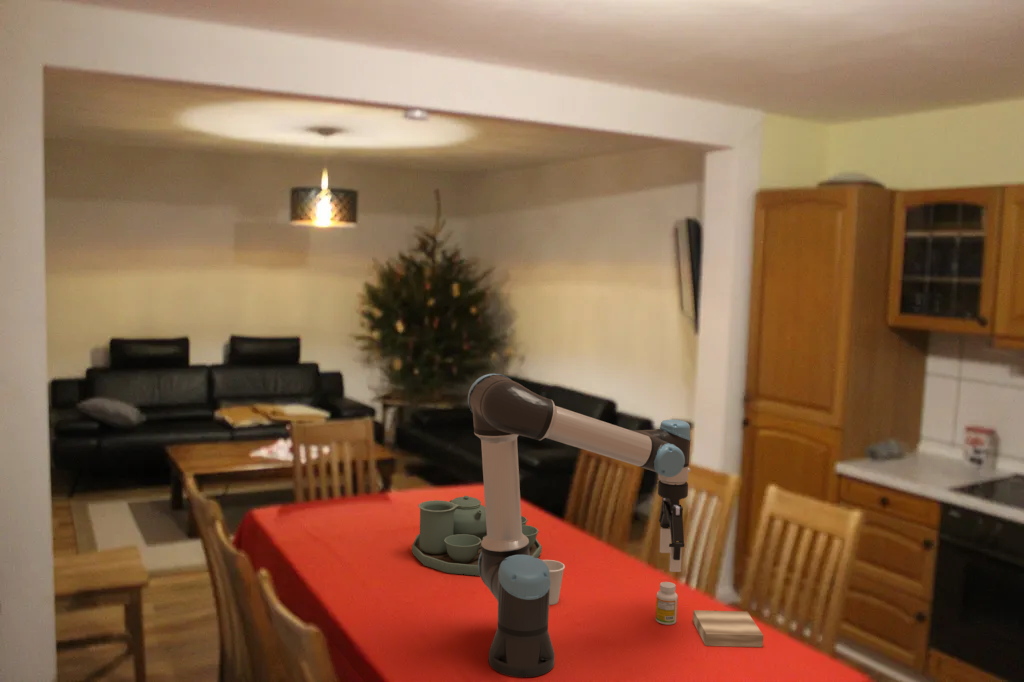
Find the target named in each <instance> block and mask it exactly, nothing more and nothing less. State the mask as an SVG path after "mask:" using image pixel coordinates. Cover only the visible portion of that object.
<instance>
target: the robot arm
mask: <svg viewBox="0 0 1024 682" xmlns="http://www.w3.org/2000/svg"><path fill="white" fill-rule="evenodd" d="M467 403H468V408H469V409H470V410H469V411H471V413H472V419H473V433H474V435H475V436H476V437H477V438H479V439H480V442H481V443H480V444H481V445H480V446H481V460H482V461H481V462H482V463H481V464H482V476H483V493H484V507H485V513H486V530H487V536H486V537H485V538H484V539H483V540H482V541H481V553H480V556H479V559H478V569H479V573H480V576H479V577H480V578H481V581H482V582H483V584H484V585H485V586H486V587H487V589H488V590H489V591H490V593H491V594H492V595H493V596H494V598H495V599H496V601H497V627H496V631H495V634H494V637H493V639H492V642H491V644H490V647H489V650H488V664H489V666H490V667H491V668H492V669H493V670H494V671H496V672H498V673H499V674H502V675H504V676H510V677H516V678H534V677H539V676H542V675H544V674H547V673H549V672H551V670H552V669H553V668H554V666H555V657H556V656H555V655H556V654H555V650H554V646H553V643H552V640H551V637H550V632H549V617H550V615H549V612H550V605H549V595H550V584H551V580H550V571H549V568H548V566H547V565H546V563H545V562H543V561H542V560H543V559H541V558H539V557H538V558H534V557H533V556H530V553H529V539H528V538H527V537H526V536H525V535H524V534H523V533H522V521H521V516H522V509H521V506H522V505H521V490H520V487H521V485H520V471H519V468H520V466H519V452H518V448H519V447H518V437H519V436H522V437H525V438H529V439H533V440H536V441H542V440H544V439H545V438H546V439H547V440H548V439H549V440H551V441H555V442H559V443H562V444H564V445H568V446H571V447H574V448H577V449H581V450H584V451H588V452H591V453H594V454H597V455H600V456H604V457H607V458H610V459H613V460H617V461H620V462H624V463H627V464H630V465H633V466H636V467H639V468H643V469H645V470H649V471H652V472H655V473H656V474H658V482H657V484H658V485H657V494H658V496H660V497H661V499H662V500H661V506H660V511H659V517H658V518H659V520H658V522H659V526H660V531H659V532H660V535H659V553H661V554H669V572H670V573H672V572H673V573H674V572H675V573H681V572H682V557H683V555H682V553H683V552H682V550H683V548H684V547H685V538H684V537H685V536H684V535H685V533H684V521H683V520H684V518H683V514H684V513H683V510H684V508H683V506H682V504H680V501H681V500H683V499H686V498H688V495H689V483H688V481H689V473H691V471H692V468H690V467H689V466H690V450H691V448H690V447H691V441H692V440H691V425H690V424H689V423H688V421H685V420H680V419H666V420H662V421H660V426H659V428H658V429H643V430H642V429H639V430H638V429H637V430H636V429H635V430H631V429H627V428H624V427H622V426H618V425H616V424H612V423H609V422H606V421H603V420H600V419H597V418H594V417H591V416H588V415H585V414H582V413H579V412H575V411H572V410H570V409H567V408H564V407H561V406H557V405H555V402H554V401H553V399H551V398H547V397H544V396H542V395H540V394H537V393H536V392H533V391H531V390H530V389H528V388H527V387H525V386H523V385H522V384H520V383H519V382H517V381H514V380H512V379H511V378H510V377H508V376H506V375H504V374H500V373H488V374H484V375H482V376H480V377H478V378H477V379H476V380H475V381H474V382H473V383H472V384H471V386H470V388H469V390H468V395H467Z"/></svg>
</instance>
